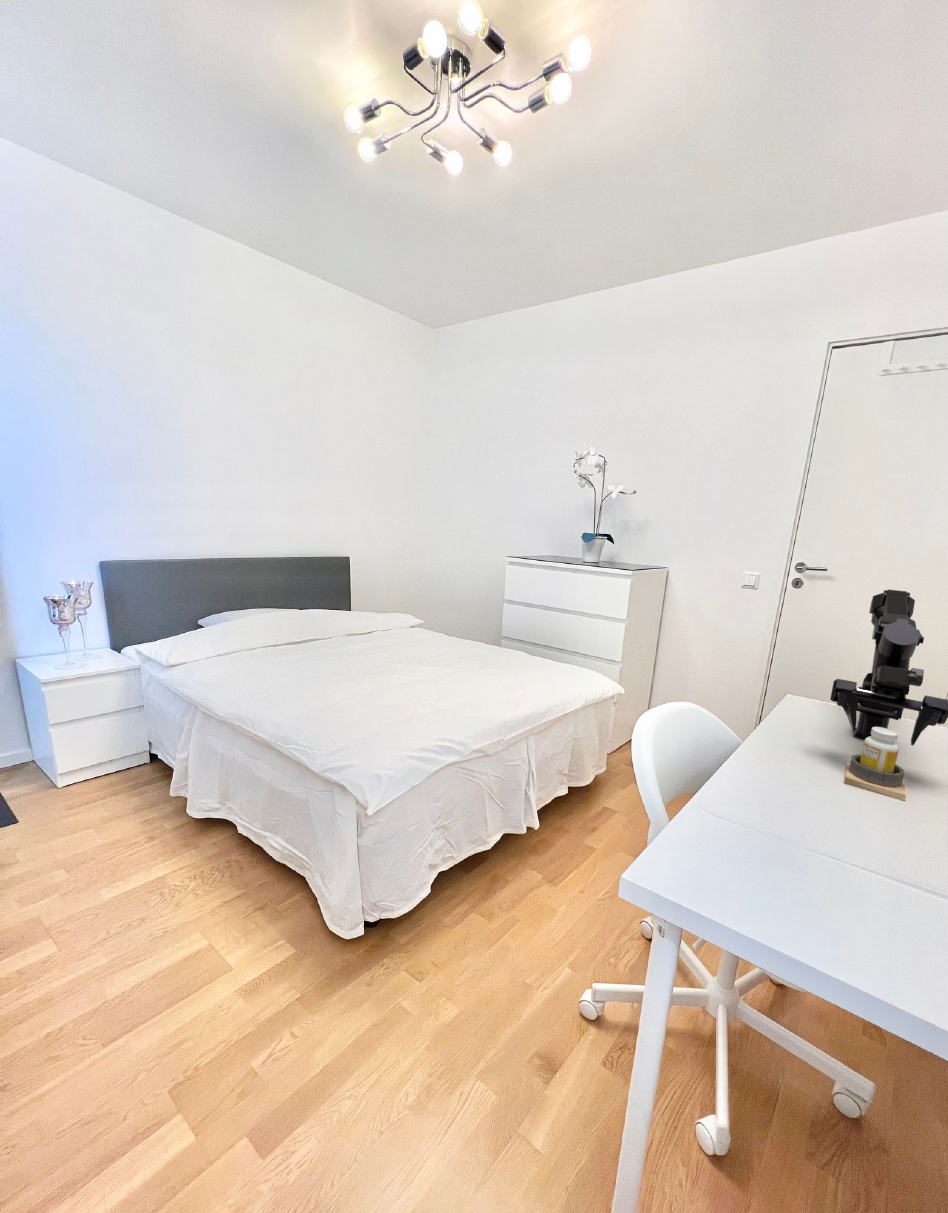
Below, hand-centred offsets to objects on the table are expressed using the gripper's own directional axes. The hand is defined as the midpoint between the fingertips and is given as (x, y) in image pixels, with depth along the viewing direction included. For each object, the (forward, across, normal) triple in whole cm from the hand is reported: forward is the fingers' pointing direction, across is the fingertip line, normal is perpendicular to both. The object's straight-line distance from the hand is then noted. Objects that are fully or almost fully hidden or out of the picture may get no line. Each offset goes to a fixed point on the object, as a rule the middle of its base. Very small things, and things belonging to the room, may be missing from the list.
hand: (882, 737), depth 101 cm
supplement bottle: (+7, 0, +5) cm, 8 cm away
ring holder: (+7, 0, +5) cm, 9 cm away
